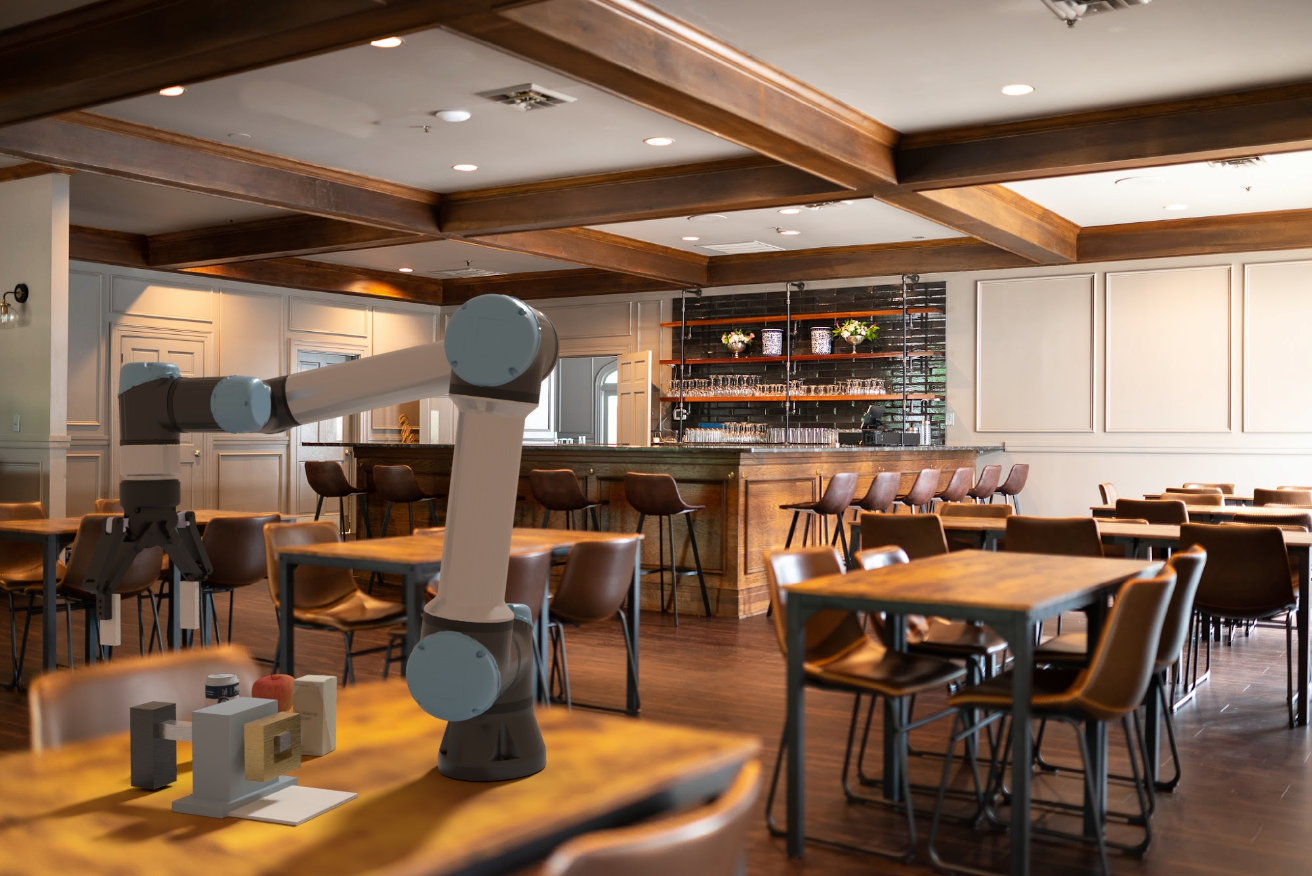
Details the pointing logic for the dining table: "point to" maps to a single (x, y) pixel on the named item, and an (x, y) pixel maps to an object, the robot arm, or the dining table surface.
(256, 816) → the mat
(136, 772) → the shaft
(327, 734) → the box
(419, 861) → the dining table surface
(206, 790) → the bearing block
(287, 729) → the collar
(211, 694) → the beer can
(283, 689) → the apple
